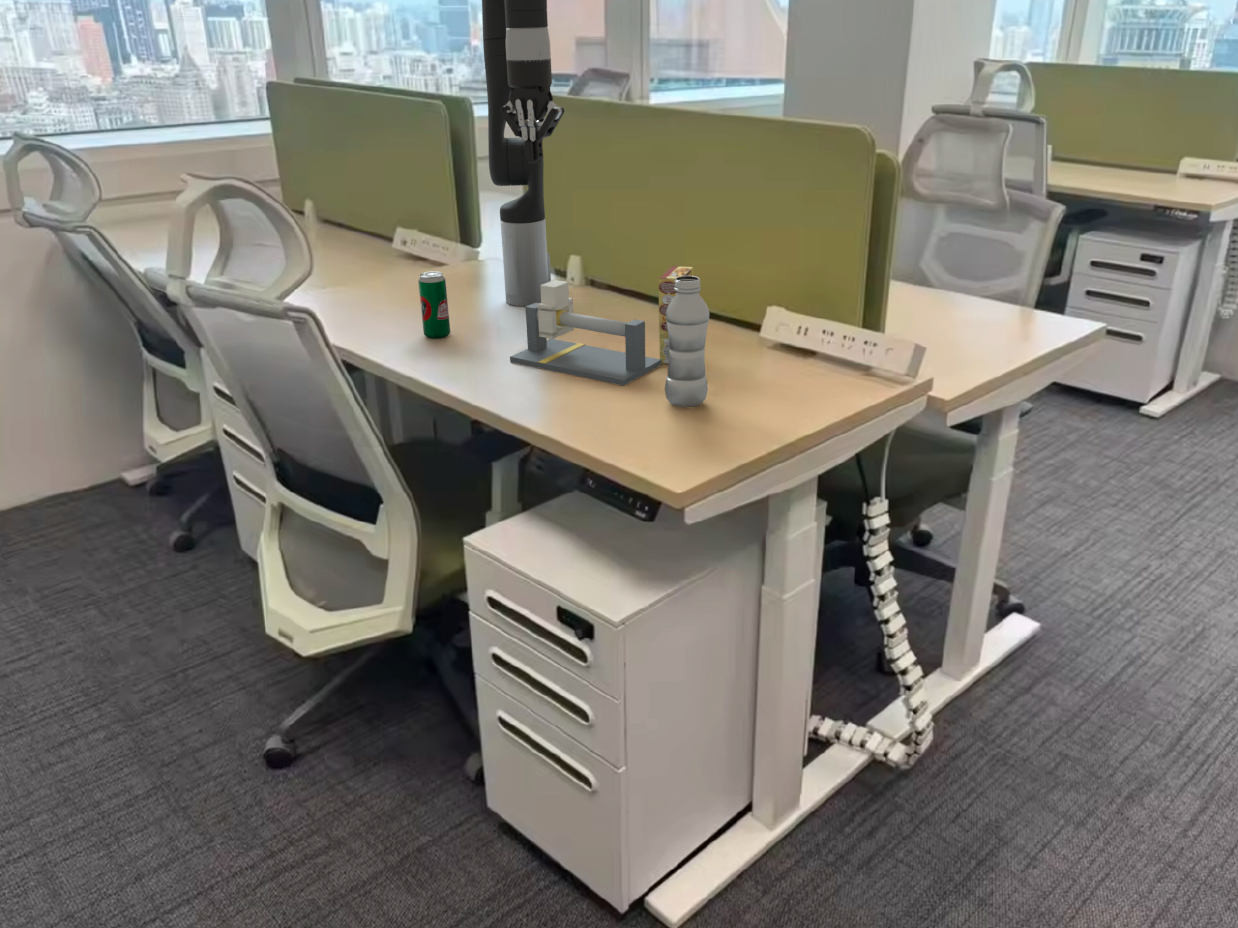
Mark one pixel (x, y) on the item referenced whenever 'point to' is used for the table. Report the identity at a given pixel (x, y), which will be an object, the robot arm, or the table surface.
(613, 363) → the rail stand
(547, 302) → the collar
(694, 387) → the plastic bottle
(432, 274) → the soda can
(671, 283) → the candy box
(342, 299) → the table surface
